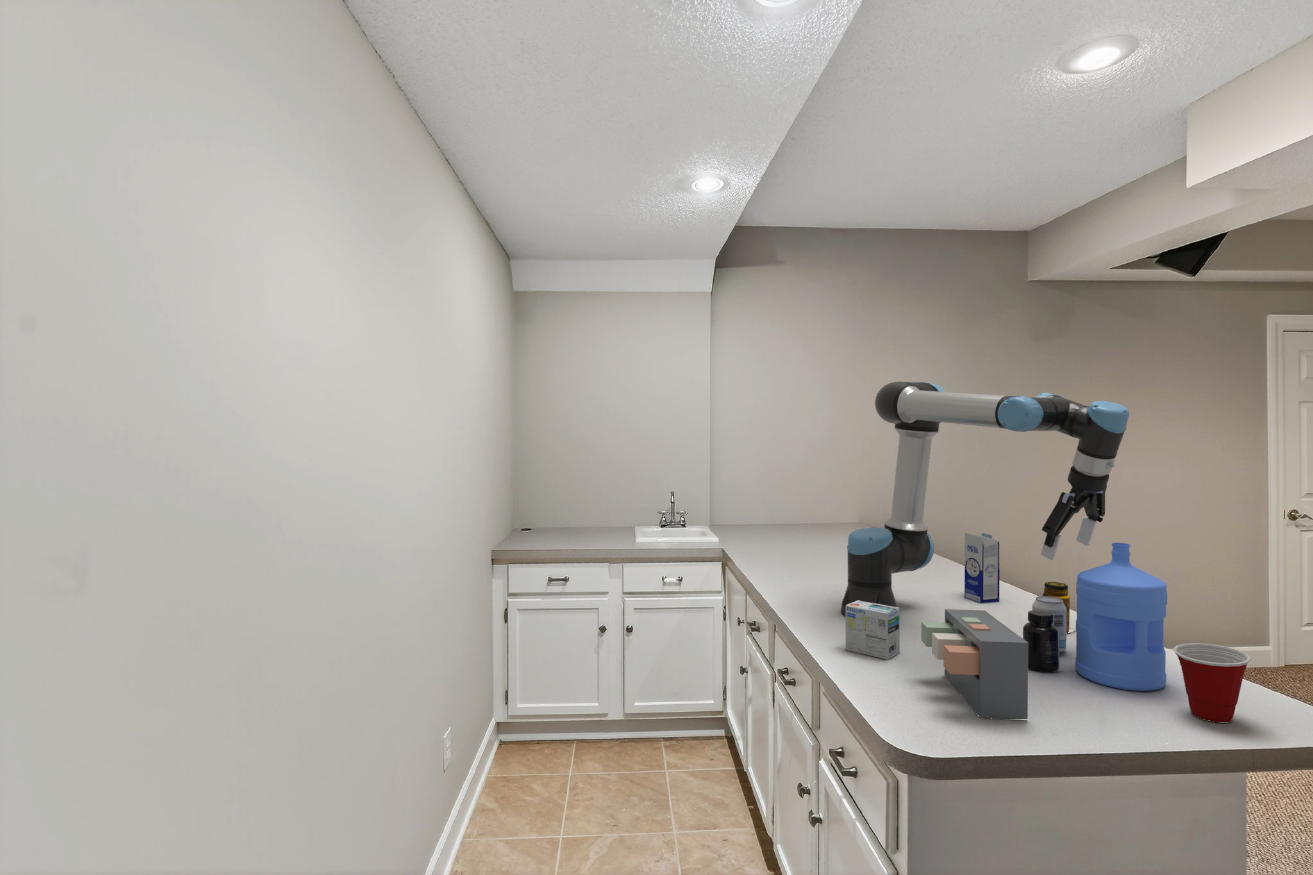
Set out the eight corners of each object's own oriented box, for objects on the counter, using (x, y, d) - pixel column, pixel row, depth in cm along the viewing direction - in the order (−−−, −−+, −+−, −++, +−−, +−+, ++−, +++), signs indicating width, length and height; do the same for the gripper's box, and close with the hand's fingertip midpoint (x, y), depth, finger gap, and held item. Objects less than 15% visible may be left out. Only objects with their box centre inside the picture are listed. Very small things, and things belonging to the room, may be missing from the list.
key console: (980, 718, 122) (981, 639, 122) (944, 675, 143) (944, 607, 143) (1027, 720, 121) (1028, 641, 121) (984, 676, 142) (984, 608, 142)
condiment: (1076, 631, 173) (1077, 584, 173) (1059, 637, 168) (1060, 589, 168) (1047, 624, 179) (1047, 579, 179) (1030, 629, 174) (1030, 583, 174)
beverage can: (1064, 647, 160) (1064, 597, 160) (1067, 657, 154) (1068, 604, 154) (1030, 643, 163) (1031, 594, 163) (1033, 652, 157) (1033, 601, 156)
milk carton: (963, 597, 206) (964, 532, 206) (981, 595, 208) (982, 531, 208) (981, 603, 199) (982, 535, 199) (999, 601, 201) (1000, 534, 201)
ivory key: (937, 659, 131) (937, 638, 131) (931, 652, 135) (932, 632, 135) (975, 660, 130) (975, 640, 130) (968, 654, 134) (968, 634, 134)
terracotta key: (950, 673, 123) (950, 652, 123) (943, 666, 127) (943, 645, 127) (990, 675, 123) (990, 653, 123) (982, 667, 126) (982, 646, 126)
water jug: (1059, 664, 149) (1061, 537, 149) (1132, 664, 149) (1134, 537, 148) (1104, 692, 134) (1106, 550, 133) (1185, 693, 133) (1187, 551, 133)
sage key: (926, 646, 138) (926, 627, 138) (921, 640, 142) (921, 621, 142) (962, 647, 138) (962, 628, 138) (956, 641, 141) (956, 622, 141)
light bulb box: (900, 653, 157) (901, 606, 157) (888, 660, 152) (888, 613, 152) (857, 643, 164) (857, 598, 164) (844, 650, 159) (844, 604, 159)
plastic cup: (1157, 705, 127) (1158, 642, 127) (1210, 703, 128) (1211, 640, 128) (1209, 731, 117) (1210, 662, 116) (1266, 729, 118) (1268, 660, 117)
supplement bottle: (1055, 664, 149) (1055, 610, 149) (1062, 675, 143) (1062, 618, 143) (1020, 660, 152) (1020, 607, 151) (1025, 671, 145) (1026, 615, 145)
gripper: (1072, 488, 143) (1046, 571, 152) (1139, 465, 154) (1111, 544, 163) (1040, 473, 149) (1016, 554, 158) (1106, 453, 160) (1081, 529, 169)
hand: (1064, 549), depth 161 cm, fingers open, 13 cm apart
